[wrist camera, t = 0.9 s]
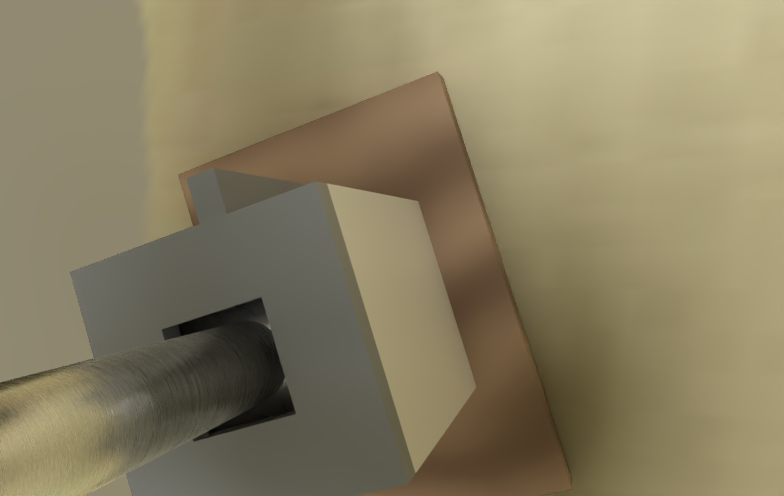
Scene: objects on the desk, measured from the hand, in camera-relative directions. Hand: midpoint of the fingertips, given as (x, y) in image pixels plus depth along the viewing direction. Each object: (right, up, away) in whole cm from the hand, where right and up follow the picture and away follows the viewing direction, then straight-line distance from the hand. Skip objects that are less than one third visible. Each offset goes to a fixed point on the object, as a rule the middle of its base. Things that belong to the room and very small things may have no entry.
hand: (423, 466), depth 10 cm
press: (-3, 0, +27) cm, 27 cm away
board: (-2, -1, +28) cm, 28 cm away
